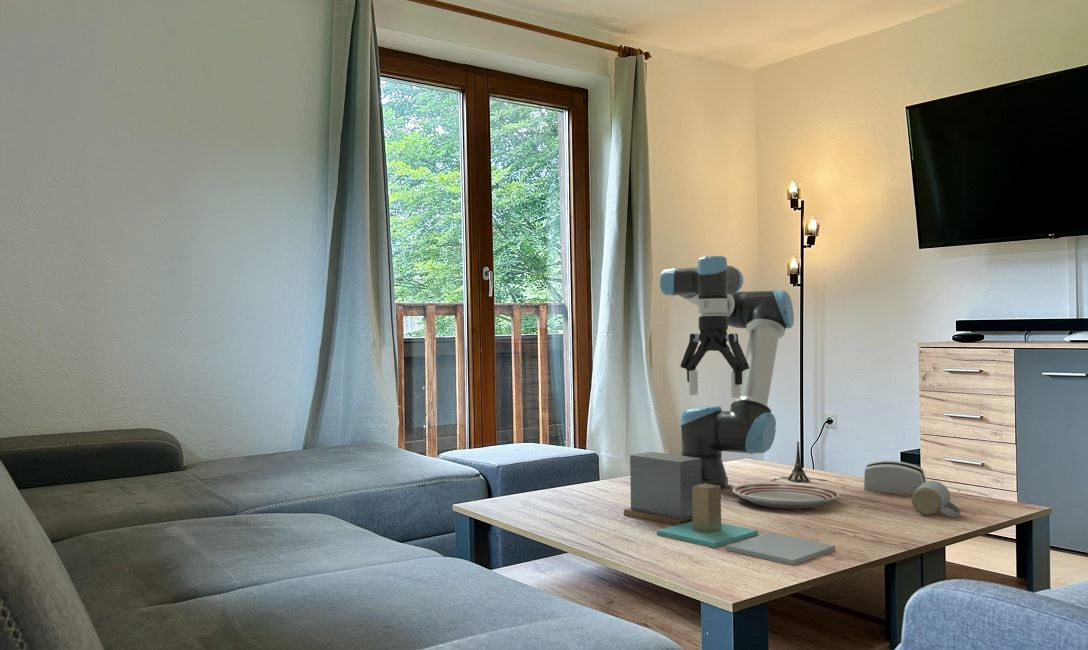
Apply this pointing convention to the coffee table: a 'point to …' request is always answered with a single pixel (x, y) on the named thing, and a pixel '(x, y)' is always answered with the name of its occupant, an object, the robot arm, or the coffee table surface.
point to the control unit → (663, 487)
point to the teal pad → (711, 539)
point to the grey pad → (780, 548)
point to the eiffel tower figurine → (798, 471)
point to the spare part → (706, 508)
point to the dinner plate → (785, 495)
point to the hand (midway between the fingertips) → (714, 396)
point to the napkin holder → (893, 477)
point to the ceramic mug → (934, 500)
